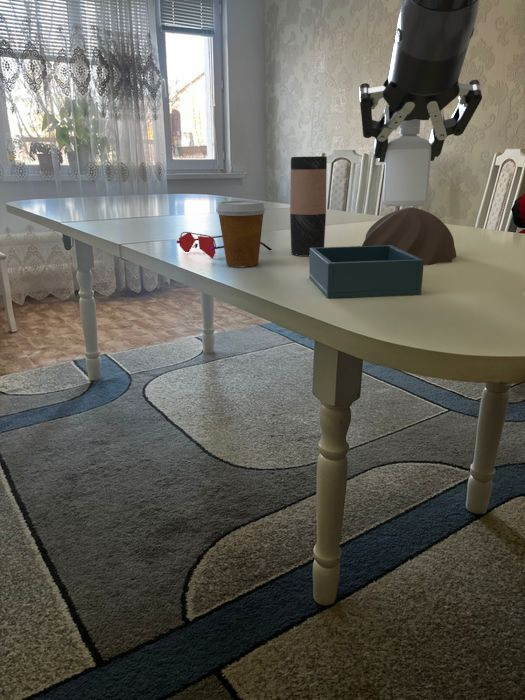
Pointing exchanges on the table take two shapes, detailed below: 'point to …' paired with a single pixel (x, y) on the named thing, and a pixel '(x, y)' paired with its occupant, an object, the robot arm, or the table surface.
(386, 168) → the eye dropper bottle
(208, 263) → the table surface
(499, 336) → the table surface
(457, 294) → the table surface
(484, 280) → the table surface
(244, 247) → the disposable coffee cup
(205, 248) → the glasses
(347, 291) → the bin
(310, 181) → the travel mug
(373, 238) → the decorative dome
